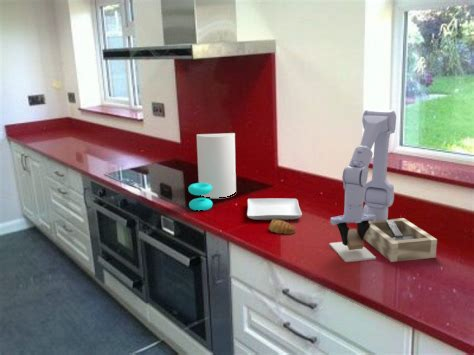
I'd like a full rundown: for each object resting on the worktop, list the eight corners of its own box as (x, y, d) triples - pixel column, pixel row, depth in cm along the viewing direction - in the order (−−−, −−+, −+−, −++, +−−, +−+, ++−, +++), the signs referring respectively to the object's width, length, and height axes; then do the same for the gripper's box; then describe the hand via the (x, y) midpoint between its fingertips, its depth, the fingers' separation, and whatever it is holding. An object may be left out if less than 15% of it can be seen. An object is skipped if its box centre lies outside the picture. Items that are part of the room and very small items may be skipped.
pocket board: (362, 237, 165) (363, 221, 163) (402, 234, 167) (403, 218, 166) (391, 262, 146) (392, 243, 144) (435, 257, 148) (437, 239, 147)
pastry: (298, 230, 174) (298, 220, 173) (290, 236, 168) (290, 226, 167) (275, 226, 178) (275, 216, 177) (267, 232, 173) (267, 222, 172)
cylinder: (237, 197, 214) (236, 136, 207) (199, 199, 213) (196, 137, 206) (234, 187, 231) (233, 130, 223) (199, 188, 230) (196, 131, 222)
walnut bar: (341, 234, 155) (342, 229, 154) (354, 233, 156) (355, 228, 155) (349, 250, 150) (350, 245, 149) (362, 248, 151) (363, 244, 150)
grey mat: (329, 244, 160) (329, 243, 160) (357, 242, 161) (357, 240, 161) (345, 262, 146) (345, 260, 146) (375, 259, 148) (376, 257, 148)
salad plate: (302, 222, 182) (302, 214, 181) (247, 223, 183) (247, 215, 182) (297, 205, 202) (297, 197, 202) (247, 206, 203) (247, 198, 202)
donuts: (190, 181, 204) (213, 182, 203) (191, 204, 206) (214, 204, 205) (185, 188, 194) (209, 188, 193) (186, 211, 197) (210, 211, 196)
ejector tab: (375, 223, 160) (376, 220, 159) (402, 221, 162) (403, 217, 161) (392, 254, 150) (394, 251, 149) (421, 251, 151) (423, 248, 150)
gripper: (336, 209, 145) (335, 250, 148) (381, 205, 147) (378, 246, 151) (328, 202, 151) (327, 242, 155) (370, 199, 154) (368, 238, 157)
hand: (352, 243), depth 153 cm, fingers closed on walnut bar, 4 cm apart
